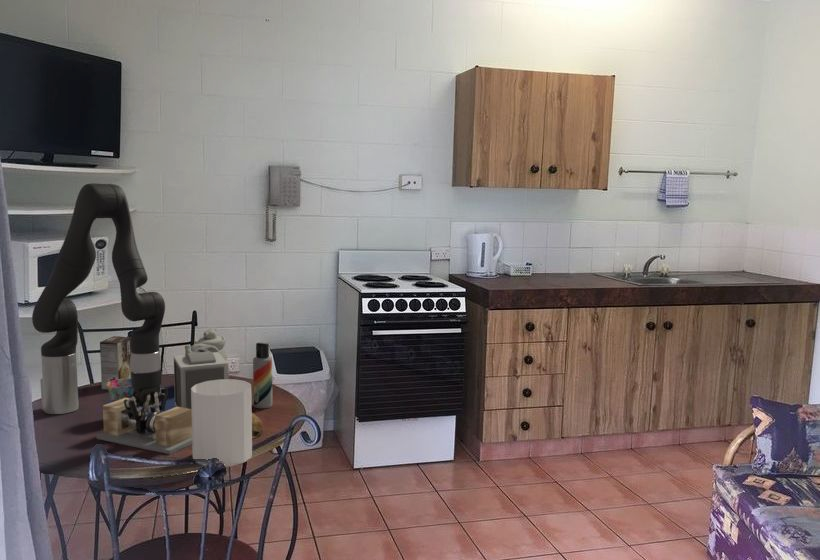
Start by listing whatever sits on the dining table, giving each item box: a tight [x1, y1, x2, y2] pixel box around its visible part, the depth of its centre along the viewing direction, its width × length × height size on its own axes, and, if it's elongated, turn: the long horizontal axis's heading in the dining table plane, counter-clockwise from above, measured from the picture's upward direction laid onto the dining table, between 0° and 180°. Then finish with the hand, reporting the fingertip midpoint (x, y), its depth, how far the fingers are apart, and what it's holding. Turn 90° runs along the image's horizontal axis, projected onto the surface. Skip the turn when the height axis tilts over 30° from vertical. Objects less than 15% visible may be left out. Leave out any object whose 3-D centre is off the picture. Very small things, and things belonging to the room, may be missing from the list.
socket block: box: [155, 406, 192, 447], centre depth 181 cm, size 5×8×8 cm, turn 156°
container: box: [191, 378, 253, 468], centre depth 173 cm, size 14×14×18 cm
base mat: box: [96, 429, 192, 455], centre depth 185 cm, size 25×12×1 cm, turn 66°
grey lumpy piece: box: [184, 327, 228, 362], centre depth 236 cm, size 16×15×19 cm
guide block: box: [102, 398, 136, 436], centre depth 188 cm, size 5×8×8 cm, turn 156°
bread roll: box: [252, 412, 264, 440], centre depth 190 cm, size 10×10×8 cm
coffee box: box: [99, 335, 131, 391], centre depth 232 cm, size 9×6×16 cm
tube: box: [121, 410, 159, 433], centre depth 186 cm, size 16×5×5 cm, turn 66°
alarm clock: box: [173, 351, 230, 409], centre depth 206 cm, size 18×13×18 cm
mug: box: [106, 378, 134, 403], centre depth 202 cm, size 12×9×11 cm
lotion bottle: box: [252, 342, 273, 409], centre depth 214 cm, size 6×6×20 cm
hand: (147, 430), depth 185 cm, fingers closed on tube, 4 cm apart
